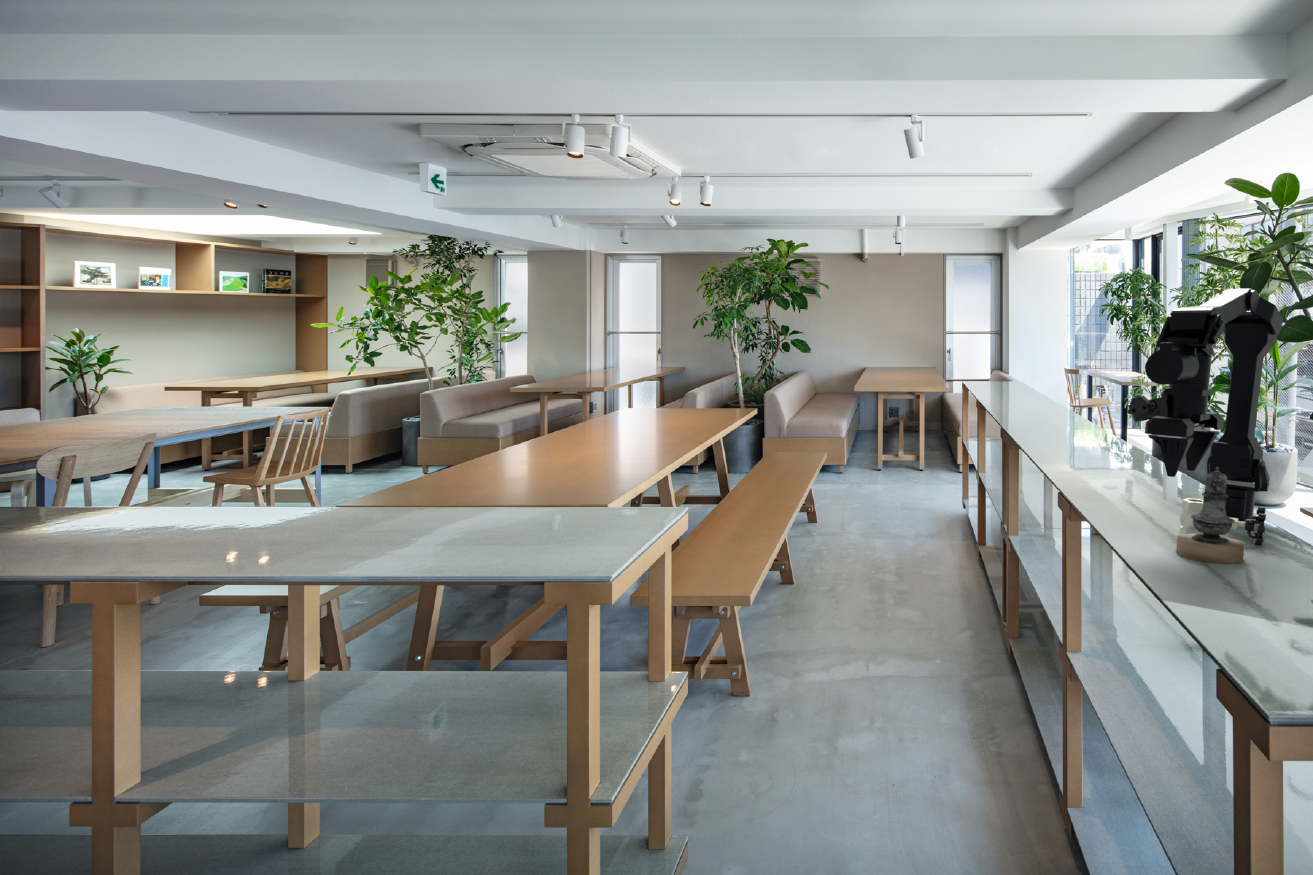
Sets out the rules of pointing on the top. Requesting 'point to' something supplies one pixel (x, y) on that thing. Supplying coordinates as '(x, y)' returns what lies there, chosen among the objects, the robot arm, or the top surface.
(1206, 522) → the salt shaker
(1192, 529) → the valve
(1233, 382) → the robot arm
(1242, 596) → the top surface
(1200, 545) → the tan round disc
